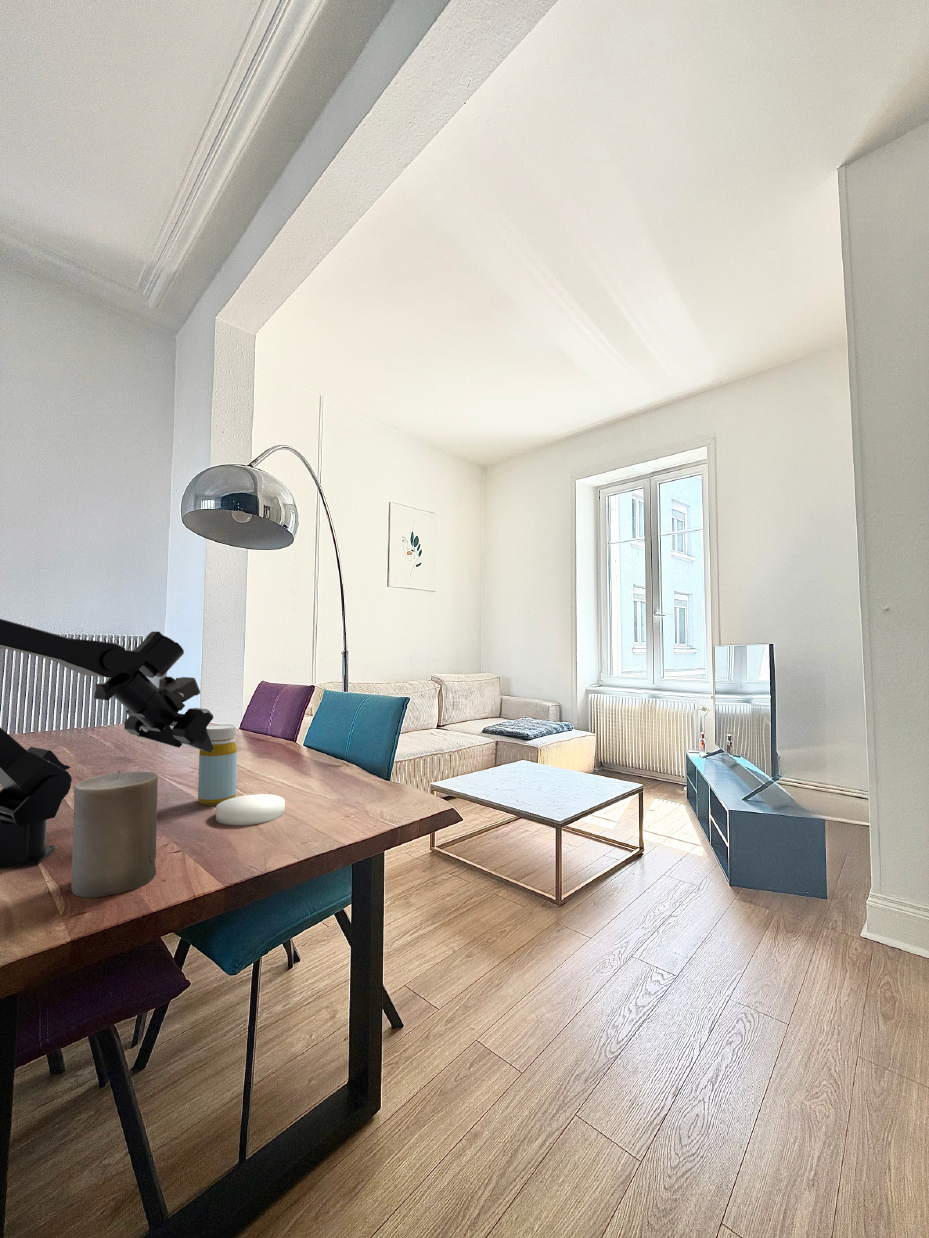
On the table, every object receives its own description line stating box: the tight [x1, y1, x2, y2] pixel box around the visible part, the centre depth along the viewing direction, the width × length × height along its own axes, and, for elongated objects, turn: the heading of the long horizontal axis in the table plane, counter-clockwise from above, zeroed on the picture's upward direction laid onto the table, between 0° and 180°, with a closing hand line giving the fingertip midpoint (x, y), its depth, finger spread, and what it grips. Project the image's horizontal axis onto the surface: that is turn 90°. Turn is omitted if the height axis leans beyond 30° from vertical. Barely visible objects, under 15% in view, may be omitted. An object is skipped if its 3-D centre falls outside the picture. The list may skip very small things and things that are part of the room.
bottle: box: [197, 724, 238, 806], centre depth 108 cm, size 7×7×15 cm
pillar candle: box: [70, 769, 159, 899], centre depth 72 cm, size 10×10×15 cm
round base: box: [215, 793, 286, 826], centre depth 99 cm, size 12×12×2 cm
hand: (195, 747), depth 103 cm, fingers open, 9 cm apart
